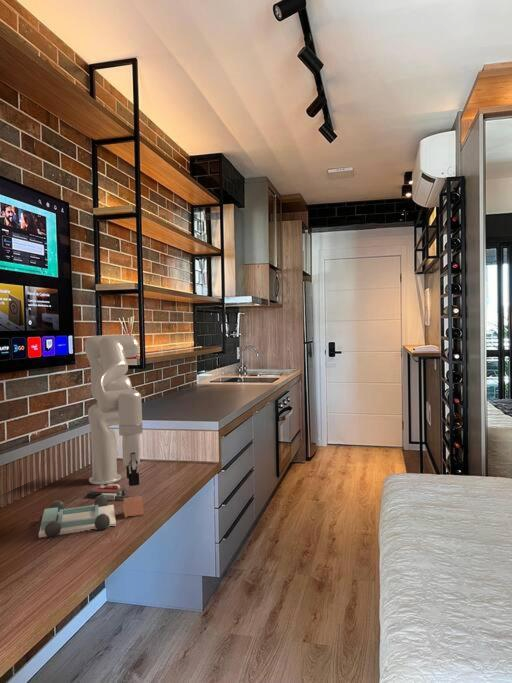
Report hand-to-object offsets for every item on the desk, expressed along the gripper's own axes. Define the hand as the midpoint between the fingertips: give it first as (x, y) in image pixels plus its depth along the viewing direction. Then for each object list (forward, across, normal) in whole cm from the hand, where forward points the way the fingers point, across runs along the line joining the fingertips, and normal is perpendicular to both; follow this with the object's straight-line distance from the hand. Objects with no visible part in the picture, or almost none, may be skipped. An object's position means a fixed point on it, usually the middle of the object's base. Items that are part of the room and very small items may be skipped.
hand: (132, 481), depth 163 cm
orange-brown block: (+11, -1, 0) cm, 11 cm away
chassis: (+11, -1, -17) cm, 20 cm away
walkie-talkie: (+11, -22, -5) cm, 25 cm away
